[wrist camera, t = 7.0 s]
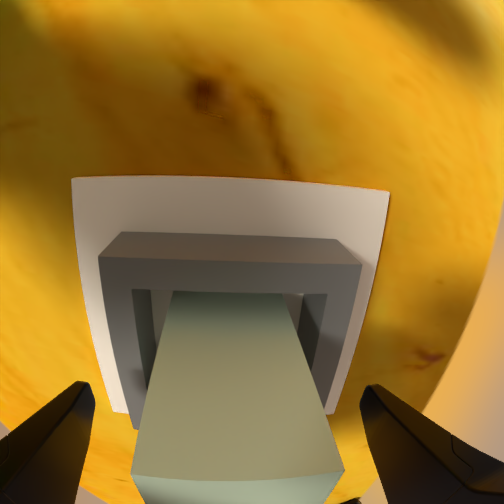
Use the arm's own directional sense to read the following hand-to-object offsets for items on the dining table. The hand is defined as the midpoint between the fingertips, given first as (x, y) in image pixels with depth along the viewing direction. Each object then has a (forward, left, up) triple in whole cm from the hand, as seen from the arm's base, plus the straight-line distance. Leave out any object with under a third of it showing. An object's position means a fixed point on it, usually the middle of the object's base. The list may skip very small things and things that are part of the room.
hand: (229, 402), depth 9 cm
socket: (0, 0, -4) cm, 4 cm away
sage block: (0, 0, -4) cm, 4 cm away
